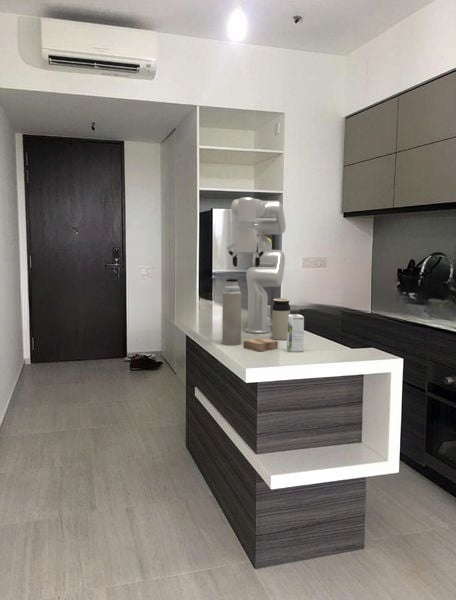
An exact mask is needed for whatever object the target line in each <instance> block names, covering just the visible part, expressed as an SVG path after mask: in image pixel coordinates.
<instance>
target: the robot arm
mask: <svg viewBox="0 0 456 600" xmlns="http://www.w3.org/2000/svg"><path fill="white" fill-rule="evenodd" d="M230 209H231V212H232V215H233V216H234V217H237V229H236V231H235V236H234V243H232V244H230V245H228V246H227V247H226V249H227V252H228V254H229V255H230V256H231V257H232V265H233V267H235V268H236V267H238V257H237V256H238V255H239V254H253V255H252V266H251V267H250V268H248V269H247V270H246V274H245V275H246V277H245V278H246V285H247V327H246V328H244V332H245V333H249V334H268V333H271V329H270V327H272V322H269V321H268V303H269V302H268V299H269V297H268V293H267V291H266V290H265V288H266V287H267V288H268V287H269V288H279V287H280V286H281V285H282V283H283V280H284V279H283V278H284V272H285V265H286V260H285V259H286V257H285V253H284V252H283V251H282V250H280V249H273V247H272V246H273V244H272V242H271V241H270V239H269V238H268V237H267V236H265V235H282V234H284V233H285V231H286V227H287V226H286V224H287V223H286V218H285V211H284V207H283V205H282V203H281V202H280V201H279V200H261V199H259V198H254V197H251V196H250V197H249V196H247V197H240V198H237V199H234V200H232V203H231V205H230ZM233 248H234V249H233ZM232 249H233V251H232Z"/></svg>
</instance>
